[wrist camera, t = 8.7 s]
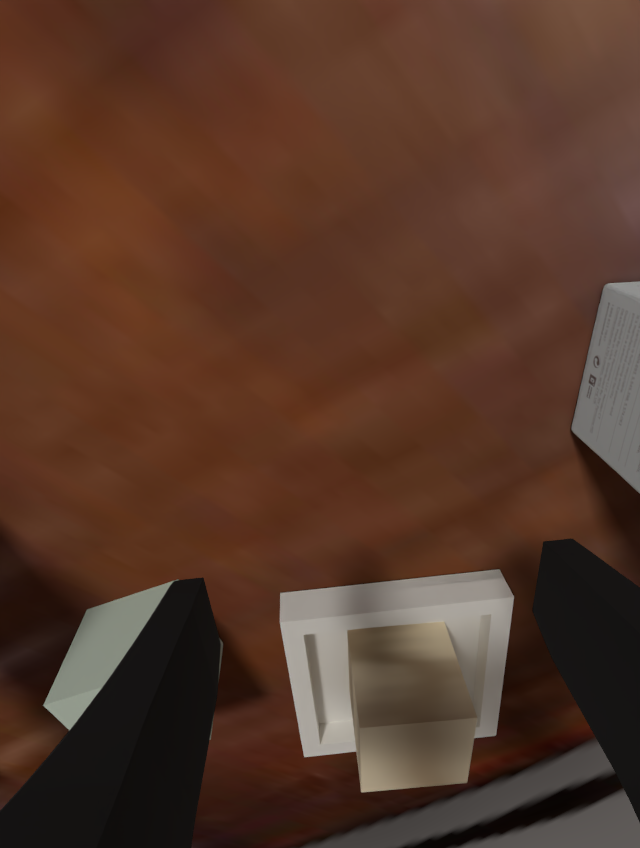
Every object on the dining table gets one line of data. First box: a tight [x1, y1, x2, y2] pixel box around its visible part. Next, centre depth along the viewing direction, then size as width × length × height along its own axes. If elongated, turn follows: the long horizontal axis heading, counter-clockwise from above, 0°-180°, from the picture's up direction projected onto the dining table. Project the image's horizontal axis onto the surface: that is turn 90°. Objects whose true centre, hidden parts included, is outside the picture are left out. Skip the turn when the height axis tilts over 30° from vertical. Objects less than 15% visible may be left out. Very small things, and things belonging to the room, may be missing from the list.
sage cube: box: [43, 580, 223, 740], centre depth 23 cm, size 5×5×5 cm
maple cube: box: [347, 622, 477, 792], centre depth 24 cm, size 5×5×5 cm
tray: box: [280, 569, 514, 757], centre depth 26 cm, size 11×11×2 cm
